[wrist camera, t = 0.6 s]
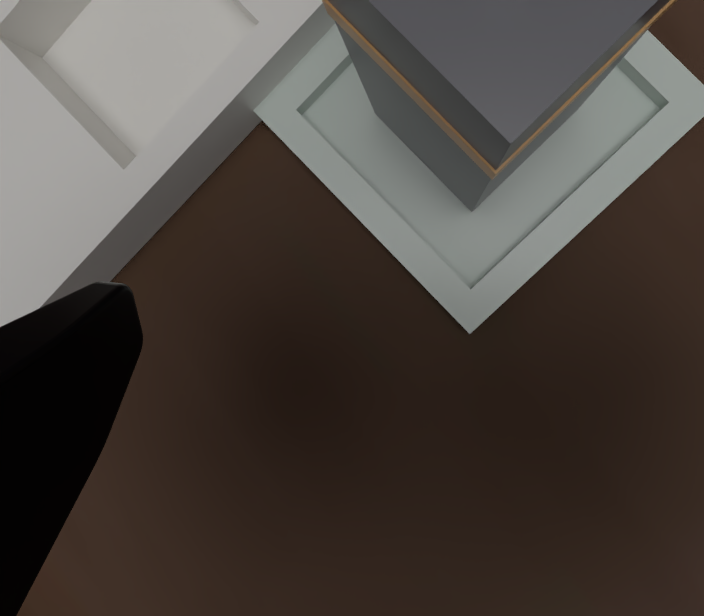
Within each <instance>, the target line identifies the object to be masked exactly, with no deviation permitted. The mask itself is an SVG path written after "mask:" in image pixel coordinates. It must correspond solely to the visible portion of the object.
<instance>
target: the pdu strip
mask: <svg viewBox="0 0 704 616" xmlns="http://www.w3.org/2000/svg"><path fill="white" fill-rule="evenodd" d="M334 24H335V21H334V19H333V18H332V17H331V16H330V15H329V14H328V13H327V11H326V9H325V6H324V4H323V2H322V0H0V327H1V326H3V325H5V324H7V323H10V322H12V321H14V320H16V319H18V318H20V317H22V316H24V315H26V314H28V313H31V312H33V311H35V310H37V309H39V308H41V307H43V306H45V305H47V304H49V303H52V302H54V301H56V300H58V299H60V298H62V297H64V296H66V295H68V294H70V293H73V292H75V291H77V290H79V289H81V288H83V287H85V286H87V285H89V284H91V283H94V282H98V281H103V282H110V281H111V280H112V279H113V278H114V277H115V276H116V275H117V274H118V273H119V272H120V271H121V269H122V268H123V267H124V266H125V265H126V264H127V263H128V262H129V261H130V260H131V259H132V258H133V257H134V256H135V255H136V254H137V252H138V251H139V250H140V249H141V248H142V247H143V246H144V245H145V244H146V243H147V242H148V241H149V240H150V239H151V238H152V237H153V235H154V234H155V233H156V232H157V231H158V230H159V229H160V228H161V227H162V226H163V225H164V224H165V223H166V222H167V221H168V220H169V219H170V217H171V216H172V215H173V214H174V213H175V212H176V211H177V210H178V209H179V208H180V207H181V206H182V205H183V204H184V203H185V202H186V200H187V199H188V198H189V197H190V196H191V195H192V194H193V193H194V192H195V191H196V190H197V189H198V188H199V187H200V186H201V185H202V183H203V182H204V181H205V180H206V179H207V178H208V177H209V176H210V175H211V174H212V173H213V172H214V171H215V170H216V169H217V168H218V166H219V165H220V164H221V163H222V162H223V161H224V160H225V159H226V158H227V157H228V156H229V155H230V154H231V153H232V152H233V151H234V149H235V148H236V147H237V146H238V145H239V144H240V143H241V142H242V141H243V140H244V139H245V138H246V137H247V136H248V135H249V134H250V132H251V131H252V130H253V129H254V128H255V127H256V126H257V125H258V124H259V123H260V122H261V121H262V119H261V118H260V117H259V116H258V115H257V114H256V113H255V112H254V111H253V110H254V109H255V108H256V107H257V106H258V105H259V104H260V103H261V102H262V101H263V100H264V99H265V98H266V96H267V95H268V94H269V93H270V92H271V91H272V90H273V89H274V88H275V87H276V86H277V85H278V84H279V83H280V82H281V80H282V79H283V78H284V77H285V76H286V75H287V74H288V73H289V72H290V71H291V70H292V69H293V68H294V67H295V66H296V64H297V63H298V62H299V61H300V60H301V59H302V58H303V57H304V56H305V55H306V54H307V53H308V52H309V51H310V49H311V48H312V47H313V46H314V45H315V44H316V43H317V42H318V41H319V40H320V39H321V38H322V37H323V36H324V35H325V33H326V32H327V31H328V30H329V29H330V28H331V27H332V26H333V25H334Z"/></svg>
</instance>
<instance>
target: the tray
mask: <svg viewBox="0 0 704 616" xmlns="http://www.w3.org/2000/svg"><path fill="white" fill-rule="evenodd" d="M253 111H254V112H255V113H256V114H257V115H258V116H259V117H260V118H261V119H262V120H263V121H264V122H265V123H266V124H267V126H268V127H269V128H270V129H271V130H272V131H273V132H274V133H275V134H276V135H277V136H278V137H279V138H280V139H281V140H282V141H283V142H284V143H285V144H286V145H287V146H288V147H289V148H290V149H291V150H292V151H293V152H294V153H295V154H296V155H297V156H298V157H299V159H300V160H301V161H302V162H303V163H304V164H305V165H306V166H307V167H308V168H309V169H310V170H311V171H312V172H313V173H314V174H315V175H316V176H317V177H318V178H319V179H320V180H321V181H322V182H323V183H324V184H325V185H326V186H327V187H328V188H329V189H330V190H331V192H332V193H333V194H334V195H335V196H336V197H337V198H338V199H339V200H340V201H341V202H342V203H343V204H344V205H345V206H346V207H347V208H348V209H349V210H350V211H351V212H352V213H353V214H354V215H355V216H356V217H357V218H358V219H359V220H360V221H361V222H362V223H363V225H364V226H365V227H366V228H367V229H368V230H369V231H370V232H371V233H372V234H373V235H374V236H375V237H376V238H377V239H378V240H379V241H380V242H381V243H382V244H383V245H384V246H385V247H386V248H387V249H388V250H389V251H390V252H391V253H392V254H393V255H394V256H395V258H396V259H397V260H398V261H399V262H400V263H401V264H402V265H403V266H404V267H405V268H406V269H407V270H408V271H409V272H410V273H411V274H412V275H413V276H414V277H415V278H416V279H417V280H418V281H419V282H420V283H421V284H422V285H423V286H424V287H425V288H426V289H427V291H428V292H429V293H430V294H431V295H432V296H433V297H434V298H435V299H436V300H437V301H438V302H439V303H440V304H441V305H442V306H443V307H444V308H445V309H446V310H447V311H448V312H449V313H450V314H451V315H452V316H453V317H454V318H455V319H456V320H457V321H458V322H459V324H460V325H461V326H462V327H463V328H464V329H465V330H466V331H467V332H468V333H469V334H471V333H472V332H473V331H474V330H475V329H476V328H477V327H478V326H479V325H480V324H481V323H482V322H484V321H485V320H486V319H487V318H488V317H489V316H490V315H491V314H492V313H493V312H494V311H495V310H496V309H497V308H499V307H500V306H501V305H502V304H503V303H504V302H505V301H506V300H507V299H508V298H509V297H510V296H511V295H513V294H514V293H515V292H516V291H517V290H518V289H519V288H520V287H521V286H522V285H523V284H524V283H525V282H526V281H528V280H529V279H530V278H531V277H532V276H533V275H534V274H535V273H536V272H537V271H538V270H539V269H540V268H542V267H543V266H544V265H545V264H546V263H547V262H548V261H549V260H550V259H551V258H552V257H553V256H554V255H555V254H557V253H558V252H559V251H560V250H561V249H562V248H563V247H564V246H565V245H566V244H567V243H568V242H569V241H571V240H572V239H573V238H574V237H575V236H576V235H577V234H578V233H579V232H580V231H581V230H582V229H583V228H584V227H586V226H587V225H588V224H589V223H590V222H591V221H592V220H593V219H594V218H595V217H596V216H597V215H598V214H600V213H601V212H602V211H603V210H604V209H605V208H606V207H607V206H608V205H609V204H610V203H611V202H612V201H613V200H615V199H616V198H617V197H618V196H619V195H620V194H621V193H622V192H623V191H624V190H625V189H626V188H627V187H629V186H630V185H631V184H632V183H633V182H634V181H635V180H636V179H637V178H638V177H639V176H640V175H641V174H642V173H644V172H645V171H646V170H647V169H648V168H649V167H650V166H651V165H652V164H653V163H654V162H655V161H656V160H657V159H659V158H660V157H661V156H662V155H663V154H664V153H665V152H666V151H667V150H668V149H669V148H670V147H671V146H673V145H674V144H675V143H676V142H677V141H678V140H679V139H680V138H681V137H682V136H683V135H684V134H685V133H686V132H688V131H689V130H690V129H691V128H692V127H693V126H694V125H695V124H696V123H697V122H698V121H699V120H700V119H702V118H703V117H704V85H703V84H702V83H701V82H700V81H699V80H698V79H697V78H696V77H695V76H694V75H693V74H692V73H691V72H690V71H689V70H688V69H687V68H686V67H685V66H684V65H683V64H682V63H681V62H680V61H679V60H678V59H677V58H676V57H674V56H673V55H672V54H671V53H670V52H669V51H668V50H667V49H666V48H665V47H664V46H663V45H662V44H661V43H660V42H659V41H658V40H657V39H656V38H655V37H654V36H653V35H652V34H651V33H650V32H649V31H648V30H647V31H646V32H645V33H644V35H643V36H642V37H641V38H640V39H639V40H638V41H637V43H636V44H635V45H634V46H633V47H632V48H631V49H630V51H629V52H628V53H627V54H626V55H625V56H624V57H623V58H622V60H621V61H620V62H619V63H618V64H617V65H616V66H615V68H614V69H613V70H612V71H611V72H610V73H609V74H608V76H607V77H606V78H605V79H604V80H603V81H602V82H601V84H600V85H599V86H598V87H597V88H596V89H595V90H594V92H593V93H592V94H591V95H590V96H589V97H588V98H587V100H586V101H585V102H584V103H583V104H582V105H581V106H580V108H579V109H578V110H577V111H576V112H575V113H574V114H573V115H572V116H571V117H570V118H569V119H568V120H567V121H566V122H564V123H563V124H562V125H561V126H560V127H559V128H558V129H557V130H556V131H555V132H554V133H553V134H552V135H551V136H550V137H549V138H548V139H547V140H546V141H545V142H544V143H543V144H542V145H541V146H540V147H539V148H538V149H537V150H536V151H535V152H533V153H532V154H531V155H530V156H529V157H528V158H527V159H526V160H525V161H524V162H523V163H522V164H521V165H520V166H519V167H518V168H517V169H516V170H515V171H514V172H513V173H512V174H511V175H510V176H509V177H508V178H507V179H506V180H505V181H503V182H502V183H501V184H500V185H499V186H498V187H497V188H496V189H495V190H494V191H493V192H492V193H491V194H490V195H489V196H488V197H487V198H486V199H485V200H484V201H483V202H482V203H481V204H480V205H479V206H478V207H477V208H476V209H475V210H474V211H472V212H471V211H470V210H469V209H468V208H467V207H466V206H465V205H464V204H463V203H462V202H461V201H460V200H459V199H458V198H457V197H456V196H455V195H454V194H453V193H452V192H451V191H450V190H449V189H448V188H447V187H446V185H445V184H444V183H443V182H442V181H441V180H440V179H439V178H438V177H437V176H436V175H435V174H434V173H433V172H432V171H431V170H430V169H429V168H428V167H427V166H426V165H425V164H424V163H423V162H422V161H421V160H420V159H419V158H418V157H417V156H416V155H415V154H414V153H413V152H412V151H411V150H410V149H409V148H408V147H407V146H406V145H405V144H404V143H403V142H402V141H401V140H400V139H399V138H398V137H397V136H396V135H395V134H394V133H393V132H392V130H391V129H390V128H389V127H388V126H387V125H386V124H385V123H384V122H383V121H382V120H381V119H380V118H379V117H378V116H377V115H376V114H375V112H374V110H373V107H372V105H371V103H370V101H369V98H368V96H367V94H366V91H365V89H364V87H363V85H362V82H361V80H360V78H359V75H358V73H357V71H356V69H355V66H354V64H353V62H352V59H351V57H350V55H349V53H348V50H347V48H346V46H345V43H344V41H343V39H342V37H341V34H340V32H339V30H338V27H337V25H336V23H335V24H334V25H333V26H332V27H331V28H330V29H329V30H328V31H327V32H326V33H325V35H324V36H323V37H322V38H321V39H320V40H319V41H318V42H317V43H316V44H315V45H314V46H313V47H312V48H311V49H310V51H309V52H308V53H307V54H306V55H305V56H304V57H303V58H302V59H301V60H300V61H299V62H298V63H297V64H296V66H295V67H294V68H293V69H292V70H291V71H290V72H289V73H288V74H287V75H286V76H285V77H284V78H283V79H282V80H281V82H280V83H279V84H278V85H277V86H276V87H275V88H274V89H273V90H272V91H271V92H270V93H269V94H268V95H267V96H266V98H265V99H264V100H263V101H262V102H261V103H260V104H259V105H258V106H257V107H256V108H255V109H254V110H253Z"/></svg>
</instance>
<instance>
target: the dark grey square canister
mask: <svg viewBox="0 0 704 616" xmlns="http://www.w3.org/2000/svg"><path fill="white" fill-rule="evenodd" d="M676 1H677V0H322V2H323V4H324V6H325V9H326V11H327V13H328V14H329V15H330V16H331V17H332V18H333V19H334V21H335V23H336V25H337V27H338V30H339V32H340V34H341V37H342V39H343V41H344V43H345V46H346V48H347V50H348V53H349V55H350V57H351V59H352V62H353V64H354V66H355V69H356V71H357V73H358V75H359V78H360V80H361V82H362V85H363V87H364V89H365V91H366V94H367V96H368V98H369V101H370V103H371V105H372V107H373V110H374V112H375V114H376V115H377V116H378V117H379V118H380V119H381V120H382V121H383V122H384V123H385V124H386V125H387V126H388V127H389V128H390V129H391V130H392V132H393V133H394V134H395V135H396V136H397V137H398V138H399V139H400V140H401V141H402V142H403V143H404V144H405V145H406V146H407V147H408V148H409V149H410V150H411V151H412V152H413V153H414V154H415V155H416V156H417V157H418V158H419V159H420V160H421V161H422V162H423V163H424V164H425V165H426V166H427V167H428V168H429V169H430V170H431V171H432V172H433V173H434V174H435V175H436V176H437V177H438V178H439V179H440V180H441V181H442V182H443V183H444V184H445V185H446V187H447V188H448V189H449V190H450V191H451V192H452V193H453V194H454V195H455V196H456V197H457V198H458V199H459V200H460V201H461V202H462V203H463V204H464V205H465V206H466V207H467V208H468V209H469V210H470V211H471V212H472V211H474V210H475V209H476V208H477V207H478V206H479V205H480V204H481V203H482V202H483V201H484V200H485V199H486V198H487V197H488V196H489V195H490V194H491V193H492V192H493V191H494V190H495V189H496V188H497V187H498V186H499V185H500V184H501V183H502V182H503V181H505V180H506V179H507V178H508V177H509V176H510V175H511V174H512V173H513V172H514V171H515V170H516V169H517V168H518V167H519V166H520V165H521V164H522V163H523V162H524V161H525V160H526V159H527V158H528V157H529V156H530V155H531V154H532V153H533V152H535V151H536V150H537V149H538V148H539V147H540V146H541V145H542V144H543V143H544V142H545V141H546V140H547V139H548V138H549V137H550V136H551V135H552V134H553V133H554V132H555V131H556V130H557V129H558V128H559V127H560V126H561V125H562V124H563V123H564V122H566V121H567V120H568V119H569V118H570V117H571V116H572V115H573V114H574V113H575V112H576V111H577V110H578V109H579V108H580V106H581V105H582V104H583V103H584V102H585V101H586V100H587V98H588V97H589V96H590V95H591V94H592V93H593V92H594V90H595V89H596V88H597V87H598V86H599V85H600V84H601V82H602V81H603V80H604V79H605V78H606V77H607V76H608V74H609V73H610V72H611V71H612V70H613V69H614V68H615V66H616V65H617V64H618V63H619V62H620V61H621V60H622V58H623V57H624V56H625V55H626V54H627V53H628V52H629V51H630V49H631V48H632V47H633V46H634V45H635V44H636V43H637V41H638V40H639V39H640V38H641V37H642V36H643V35H644V33H645V32H646V31H647V30H648V29H649V28H650V27H651V25H652V24H653V23H654V22H655V21H657V20H658V19H659V18H660V17H661V16H662V15H663V14H664V13H665V12H666V11H667V10H668V9H669V8H670V7H671V6H672V5H673V4H674V3H675V2H676Z"/></svg>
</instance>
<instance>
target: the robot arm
mask: <svg viewBox="0 0 704 616" xmlns="http://www.w3.org/2000/svg"><path fill="white" fill-rule="evenodd" d="M142 344H143V334H142V329H141V325H140V320H139V316H138V312H137V308H136V304H135V300H134V296H133V293H132V291H131V289H130V287H128V286H127V285H125V284H122V283H113V282H103V281H98V282H94V283H91V284H89V285H87V286H85V287H83V288H81V289H79V290H77V291H75V292H73V293H70V294H68V295H66V296H64V297H62V298H60V299H58V300H56V301H54V302H52V303H49V304H47V305H45V306H43V307H41V308H39V309H37V310H35V311H33V312H31V313H28V314H26V315H24V316H22V317H20V318H18V319H16V320H14V321H12V322H10V323H7V324H5V325H3V326H1V327H0V616H16V615H17V613H18V611H19V610H20V608H21V606H22V604H23V602H24V600H25V598H26V596H27V594H28V592H29V590H30V588H31V587H32V585H33V583H34V581H35V579H36V577H37V575H38V573H39V571H40V569H41V567H42V565H43V564H44V562H45V560H46V558H47V556H48V554H49V552H50V550H51V548H52V546H53V544H54V542H55V541H56V539H57V537H58V535H59V533H60V531H61V529H62V527H63V525H64V523H65V521H66V519H67V518H68V516H69V514H70V512H71V510H72V508H73V506H74V504H75V502H76V500H77V498H78V496H79V495H80V493H81V491H82V489H83V487H84V485H85V483H86V481H87V479H88V477H89V475H90V473H91V472H92V470H93V468H94V466H95V464H96V462H97V460H98V458H99V456H100V454H101V452H102V449H103V447H104V445H105V443H106V440H107V438H108V435H109V433H110V430H111V428H112V425H113V423H114V420H115V418H116V415H117V412H118V410H119V407H120V405H121V402H122V399H123V397H124V394H125V392H126V389H127V386H128V384H129V381H130V379H131V376H132V373H133V371H134V368H135V366H136V363H137V360H138V358H139V355H140V352H141V349H142Z"/></svg>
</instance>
